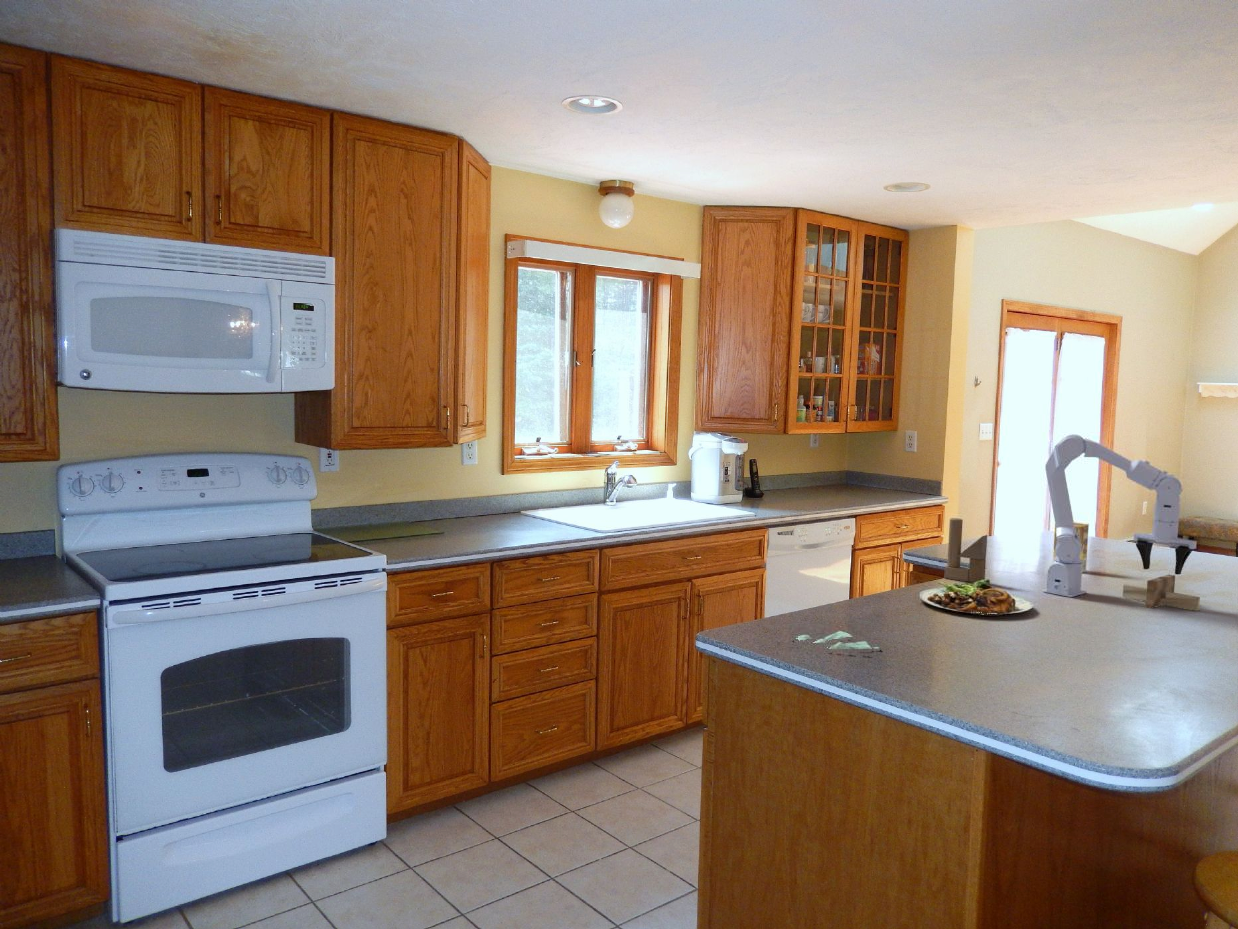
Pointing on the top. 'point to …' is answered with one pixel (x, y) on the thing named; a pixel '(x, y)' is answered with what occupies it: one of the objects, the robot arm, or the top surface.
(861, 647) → the cloth
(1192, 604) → the birch board
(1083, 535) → the candy box
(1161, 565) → the top surface
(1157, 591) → the wooden plank
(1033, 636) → the top surface
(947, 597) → the plate of food
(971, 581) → the wooden block
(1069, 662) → the top surface
